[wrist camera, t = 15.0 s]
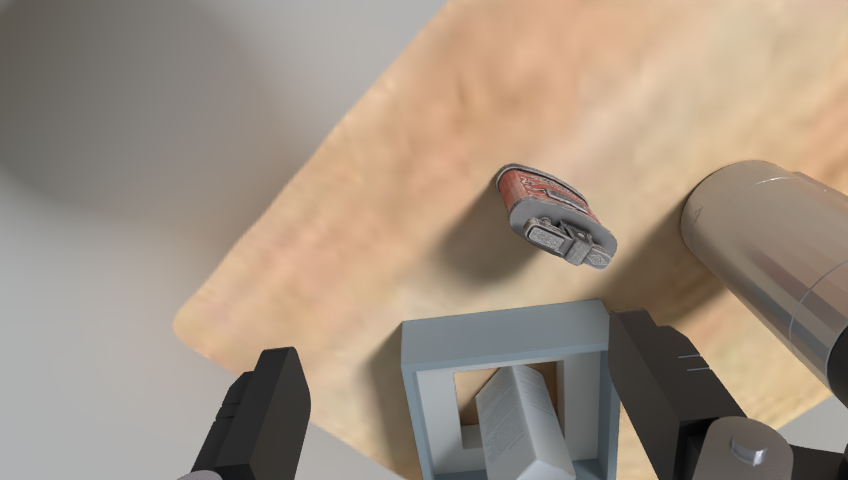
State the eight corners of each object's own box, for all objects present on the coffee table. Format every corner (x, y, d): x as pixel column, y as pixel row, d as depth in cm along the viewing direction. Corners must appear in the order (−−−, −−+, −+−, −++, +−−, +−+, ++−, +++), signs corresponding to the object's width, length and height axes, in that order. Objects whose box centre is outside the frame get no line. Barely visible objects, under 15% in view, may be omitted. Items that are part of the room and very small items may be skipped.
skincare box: (508, 411, 52) (531, 522, 42) (474, 395, 51) (488, 504, 41) (545, 372, 50) (579, 479, 39) (509, 354, 49) (535, 459, 38)
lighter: (594, 194, 41) (642, 254, 33) (571, 228, 43) (611, 294, 34) (507, 154, 40) (533, 204, 31) (486, 191, 41) (505, 249, 32)
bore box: (599, 298, 46) (623, 340, 41) (596, 439, 54) (615, 489, 49) (402, 321, 47) (400, 365, 42) (427, 456, 55) (428, 507, 50)
